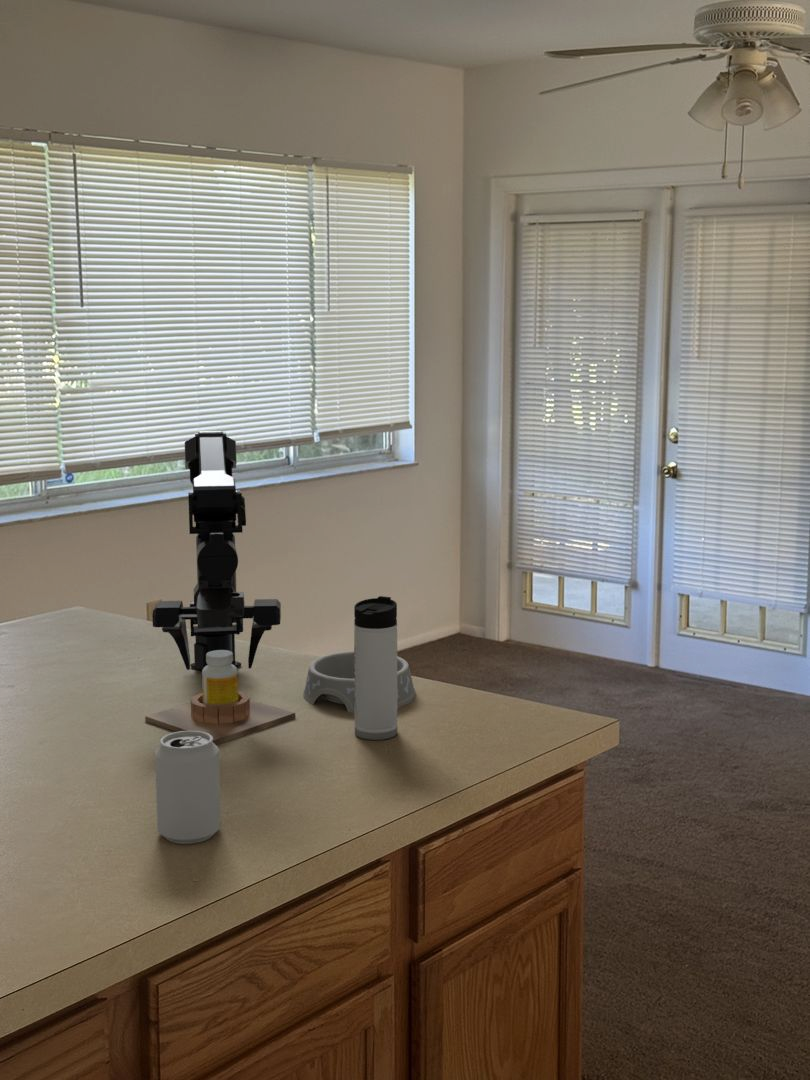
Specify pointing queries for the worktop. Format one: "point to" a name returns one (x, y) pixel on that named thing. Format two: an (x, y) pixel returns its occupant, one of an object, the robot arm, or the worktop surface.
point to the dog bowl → (348, 680)
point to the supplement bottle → (219, 679)
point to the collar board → (221, 730)
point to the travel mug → (375, 668)
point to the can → (188, 787)
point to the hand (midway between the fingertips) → (219, 668)
